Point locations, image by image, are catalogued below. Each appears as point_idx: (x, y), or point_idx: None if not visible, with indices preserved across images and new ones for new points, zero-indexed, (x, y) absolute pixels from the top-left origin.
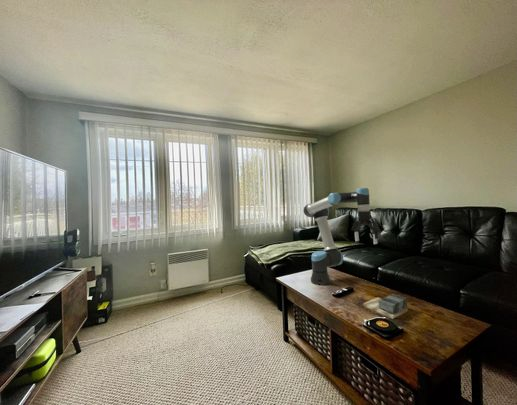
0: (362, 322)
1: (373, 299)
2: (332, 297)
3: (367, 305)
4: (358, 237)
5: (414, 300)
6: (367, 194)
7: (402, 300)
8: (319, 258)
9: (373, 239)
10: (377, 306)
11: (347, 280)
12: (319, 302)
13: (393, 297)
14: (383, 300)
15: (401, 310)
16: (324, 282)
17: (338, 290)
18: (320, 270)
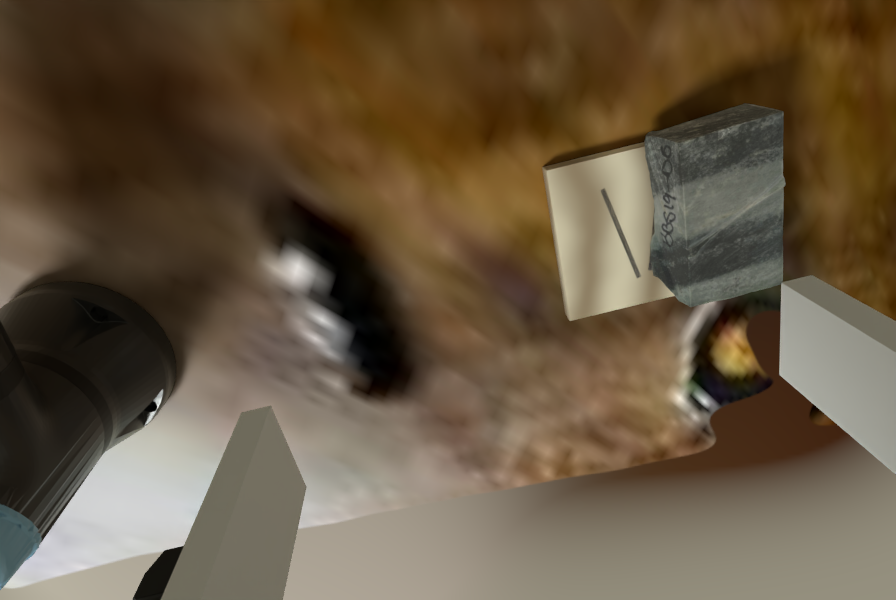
0: (686, 420)
1: (558, 225)
2: (397, 413)
3: (597, 312)
4: (250, 479)
5: None
6: None
7: (782, 170)
8: (23, 558)
9: (862, 445)
10: (640, 273)
11: (99, 120)
12: (430, 500)
13: (720, 188)
14: (706, 280)
15: None
16: (167, 376)
17: (304, 324)
18: (98, 455)
